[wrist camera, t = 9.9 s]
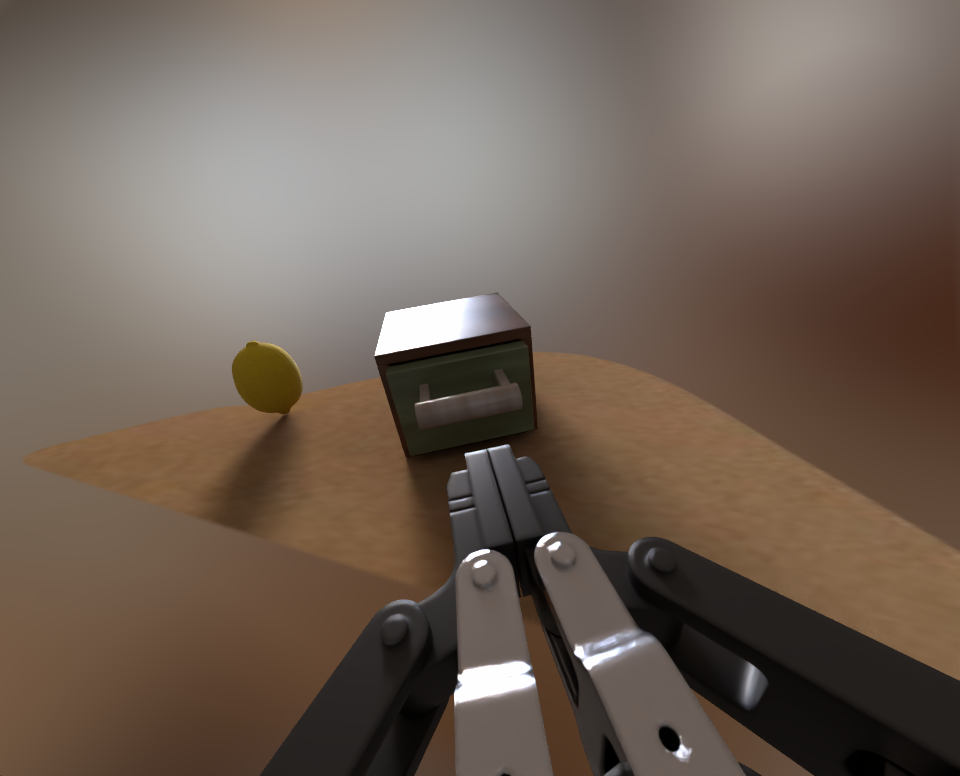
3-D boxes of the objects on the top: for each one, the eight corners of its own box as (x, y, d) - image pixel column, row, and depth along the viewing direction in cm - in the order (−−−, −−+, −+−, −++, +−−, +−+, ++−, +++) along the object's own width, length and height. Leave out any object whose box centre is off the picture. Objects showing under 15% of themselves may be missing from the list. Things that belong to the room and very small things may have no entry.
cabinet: (537, 428, 27) (530, 326, 23) (405, 457, 27) (373, 355, 22) (506, 373, 37) (497, 292, 33) (408, 392, 36) (385, 312, 32)
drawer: (554, 466, 22) (550, 372, 19) (409, 499, 21) (379, 407, 18) (505, 375, 34) (497, 309, 31) (411, 394, 33) (393, 328, 30)
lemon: (285, 398, 39) (252, 331, 35) (325, 400, 37) (295, 329, 33) (243, 427, 34) (201, 354, 30) (287, 431, 32) (247, 353, 29)
